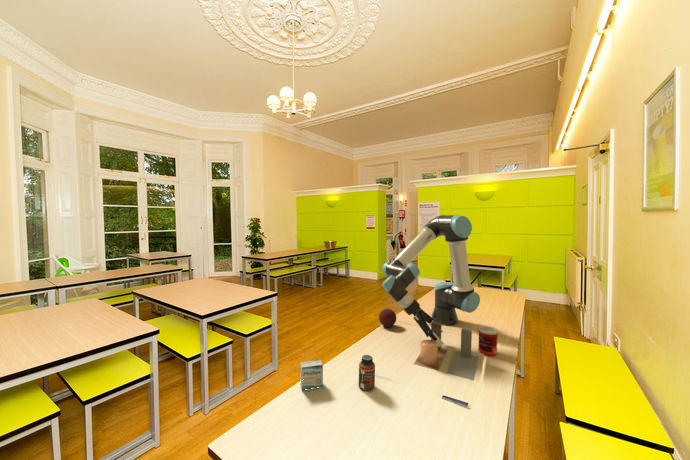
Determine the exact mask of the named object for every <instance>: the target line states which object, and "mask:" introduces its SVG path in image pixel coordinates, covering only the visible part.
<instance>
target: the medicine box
mask: <svg viewBox="0 0 690 460" xmlns="http://www.w3.org/2000/svg"><path fill="white" fill-rule="evenodd" d="M299 363H300V364H299V367H300V371H299V372H300V374H299V377H300V378H299V381H301V383H300V390H301V389H302V390H305V389H311V388H316V389H318V388H317V387H322V388H323V387H324V365H323V362H322V359H317V360H309V361H301V362H299ZM303 379H304V380H303ZM302 380H303V381H302ZM302 390H301V391H302ZM311 390H312V389H311ZM305 391H306V390H305Z"/></svg>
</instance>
